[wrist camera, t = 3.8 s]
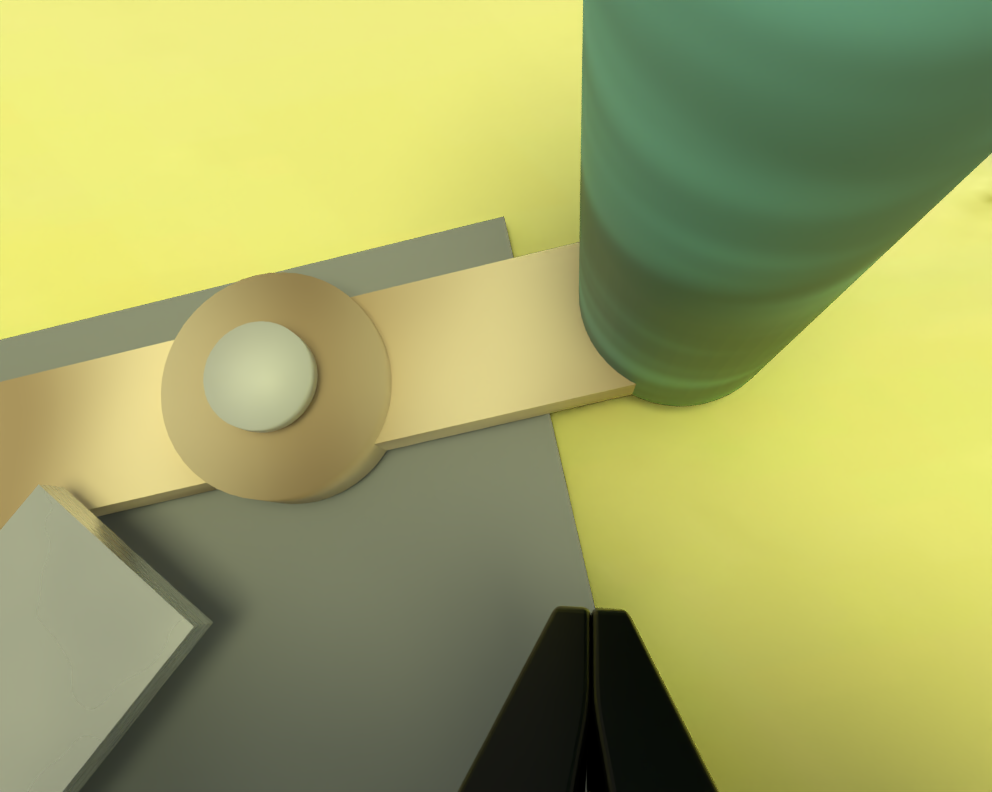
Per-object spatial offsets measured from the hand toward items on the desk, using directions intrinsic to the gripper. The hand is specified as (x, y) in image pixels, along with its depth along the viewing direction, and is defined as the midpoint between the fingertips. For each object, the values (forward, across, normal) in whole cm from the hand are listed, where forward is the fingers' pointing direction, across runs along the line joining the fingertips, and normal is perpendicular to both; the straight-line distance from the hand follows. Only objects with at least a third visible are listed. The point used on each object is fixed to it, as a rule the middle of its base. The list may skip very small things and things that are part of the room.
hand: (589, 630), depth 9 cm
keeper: (+3, +10, +6) cm, 12 cm away
